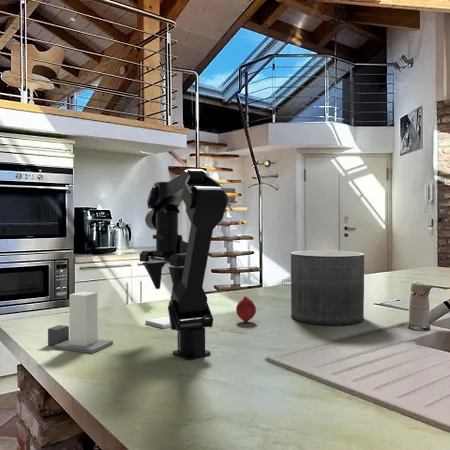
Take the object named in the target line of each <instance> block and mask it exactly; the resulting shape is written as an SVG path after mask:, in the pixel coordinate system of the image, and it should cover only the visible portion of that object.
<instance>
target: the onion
mask: <svg viewBox="0 0 450 450" xmlns="http://www.w3.org/2000/svg"><path fill="white" fill-rule="evenodd" d="M235 312H236V315H237V316H238V318H239V319H240V320H241V321H243V322H244V323H247V322H249V321H251V320H252V319H253V318H254V317H255V316H256V313H257V309H256V305H255V303H254V302H253V300H251V299H250V298H249V297H248V295H246V294H244V296H243V298H242V299H241V300H240V301H239V302H238V303H237V305H236V308H235Z"/></svg>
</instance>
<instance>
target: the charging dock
mask: <svg viewBox="0 0 450 450" xmlns="http://www.w3.org/2000/svg"><path fill="white" fill-rule="evenodd" d="M113 344H114V341H113V340H109V339H108V340H107V339H99V338H98V341H97V342H95V343H93V344H91V345H88V346H77V345H70V325H63V324H62V325H61V324H58V325H56V326H55V325H54V326H53V327H49V328H47V345H48V346H52V347H53V349H54V350H63V351H71V352H81V353H88V354H89V353H90V354H94V353H97V352H99V351H101V350H103V349H105V348H107V347H109V346H111V345H113Z"/></svg>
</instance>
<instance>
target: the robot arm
mask: <svg viewBox="0 0 450 450" xmlns="http://www.w3.org/2000/svg"><path fill="white" fill-rule="evenodd" d="M182 202H183V203H184V206H185V212H186V213H185V214H186V215H187V217H188V219H189V221H190V229H189V234H188V240H187V241H188V242H187V241H184V240H183V236H182V234H179V213H180V209H179V206H180V205H181V203H182ZM146 205H147V209H149V211H148V212H147V213H146V216H145V219H144V221H145V224H146V227H148V228H149V229H151V230H153V231H155V234H152V239H153V240H155V243H156V244H155V248H156V249H153V250H152V249H151V250H142V251H141V252H140V253H139V262H142V263H141V264H142V266H144V268H145V270H146V271H147V274H148V276H149V277H150V279H151V282H152V284H153V286H154V288H155V289H156V290H160V289H161V285H162V271H163V268H164V267H165V265H166V263H167V262H168V264H169V265H170V266H168V272H169V274H170V278H171V282H172V287H171V288H172V289H171V296H170V300H169V301H168V306H167V311H168V316H169V319H170V324H171V327H170V330H172V331H177V349H175V350H172V354H173V355H176V356H178V357H180V358H183V359H186V360H192V359H196V358H200V357H204V356H207V355H208V356H209V355H211V352H212V351H209V350H207V349H206V328H213V323H214V318H213V314H212V311H211V308H210V306H209V303H208V297H207V294H206V293H205V289H204V288H203V285H204V281H205V280H204V279H205V276H206V270H207V264H208V259H209V253H210V248H211V243H212V236H213V232H214V229H215V228H217V226H218V224H220V222H222V220H223V219H224V215H225V212H226V208H227V207H228V205H229V197H228V195H227V192H226V191H225V189H224V188H223V186H222V184H221V183H220V182H218V181H216V179H213V178H212V177H210V176H209V174H208V173H207V171H205V170H203V169H197V168H196V169H195V168H186V169H183V170H182V172H181V173H180V174H179V175H177V176H175V177H174V178H172V179H170V180H169V181H156V182H155V183H154V184H153V186H152V187H151V189H150V192H149V195H148V198H147V202H146ZM150 209H151V210H150ZM194 318H195V319H194ZM185 319H192V320H185ZM180 320H183V321H180Z"/></svg>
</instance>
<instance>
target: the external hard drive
mask: <svg viewBox="0 0 450 450" xmlns="http://www.w3.org/2000/svg"><path fill="white" fill-rule="evenodd" d="M194 319H196V318H194ZM185 320H192V319H185ZM180 321H183V320H180ZM144 323H145V325H148V326H152V327H156V328H159V329H168V328H171V324H170V319H169V315H168V316H163V317H157V318H153V319H146V320H145V321H144Z"/></svg>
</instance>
